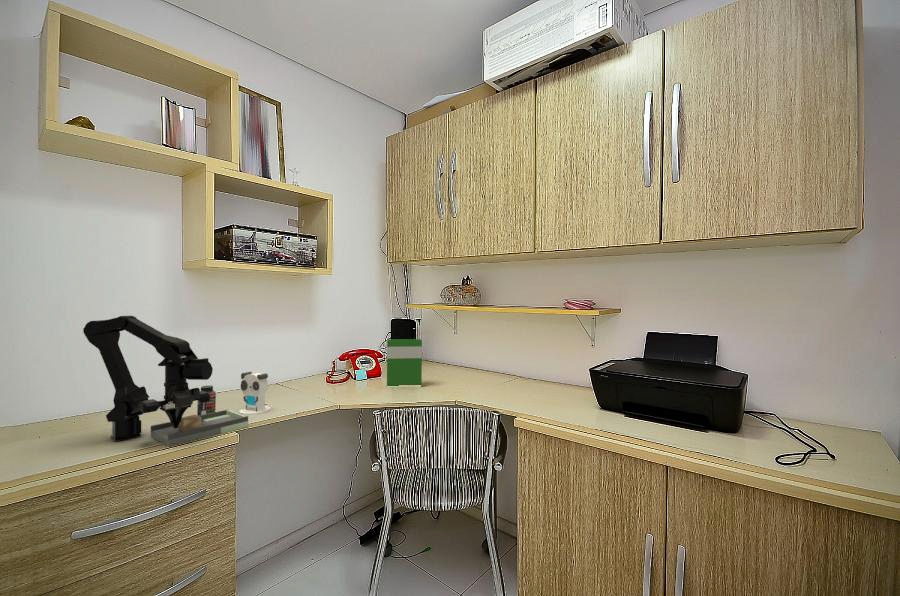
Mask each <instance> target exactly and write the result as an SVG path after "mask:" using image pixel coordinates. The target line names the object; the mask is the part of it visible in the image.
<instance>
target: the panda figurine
mask: <svg viewBox="0 0 900 596" xmlns="http://www.w3.org/2000/svg"><path fill="white" fill-rule="evenodd" d="M268 378H269V376H268V373H260V372H255V373H253V372H252V371H246V372H242V373H241V374H240V379H241V381H240V391H241V390H242V391H241V392H242V394H243V395H244V396H243V401H244V402H245V407H244V408H241V409H240V410H239V411H238V413H239V414H242V415H258V414H264V413H267V412H270V411H271V407H270V406H268V405H266V394H267V392H268V390H269V384H268V382H269V381H268Z"/></svg>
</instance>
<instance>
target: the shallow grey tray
mask: <svg viewBox="0 0 900 596" xmlns="http://www.w3.org/2000/svg"><path fill="white" fill-rule="evenodd" d="M199 416H200V417H201V427H198V428H194V429H189V430H185V431H182V430H180V429H178V428H175V429H174V428H173V426H172V424H171V422H170V421H167V422H162V423H158V424H152V425H150V438H153V439H154V440H156V441H158V442H159V441H160V442H159V443H161V442H162V443H161V444H163V445H165V446H167V447H168V448H169V447H174V446H177V445H181V444H185V443H189V442H193V441H198V440H202V439H205V438H209V437H214V436H216V435H221V434H225V433H228V432H232V431H236V430H241V429H244V428H248V427H249V415H248V416H247V415H246V414H241V413H239V412H236V411H233V410H231V409H224V410H219V411H215V412H214V413H209V414H204V415H199Z"/></svg>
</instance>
